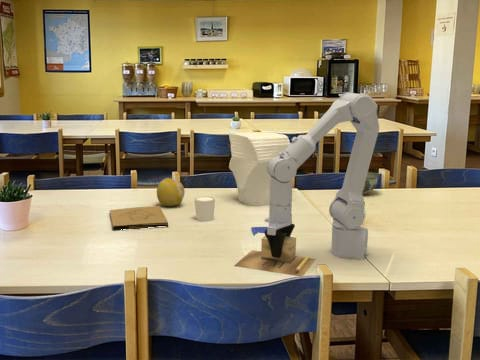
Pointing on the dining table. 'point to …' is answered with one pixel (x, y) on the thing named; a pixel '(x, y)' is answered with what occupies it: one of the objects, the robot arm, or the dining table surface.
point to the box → (137, 218)
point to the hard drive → (258, 230)
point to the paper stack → (254, 163)
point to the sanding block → (287, 250)
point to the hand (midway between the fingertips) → (279, 253)
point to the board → (273, 264)
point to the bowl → (370, 182)
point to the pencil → (302, 264)
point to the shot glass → (204, 208)
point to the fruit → (170, 192)
